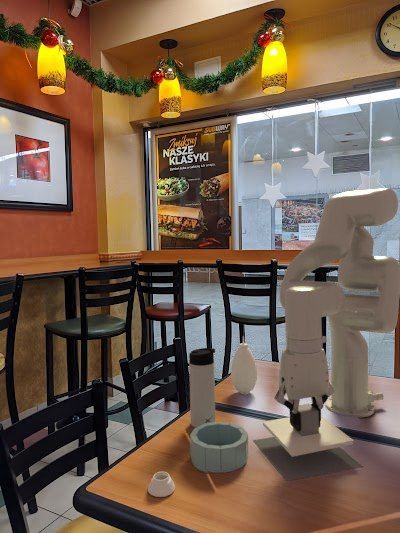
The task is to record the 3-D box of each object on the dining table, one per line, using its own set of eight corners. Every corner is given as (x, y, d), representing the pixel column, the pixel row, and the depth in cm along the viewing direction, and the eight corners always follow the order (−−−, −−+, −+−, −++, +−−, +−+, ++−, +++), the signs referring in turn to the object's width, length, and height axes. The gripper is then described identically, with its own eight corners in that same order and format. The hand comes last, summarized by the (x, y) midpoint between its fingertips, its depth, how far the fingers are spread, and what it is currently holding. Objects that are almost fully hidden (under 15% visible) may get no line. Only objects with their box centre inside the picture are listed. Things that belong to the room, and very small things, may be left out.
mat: (317, 432, 100) (317, 429, 100) (363, 469, 83) (363, 466, 83) (252, 442, 95) (252, 440, 95) (286, 484, 79) (286, 481, 79)
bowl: (236, 442, 96) (235, 419, 96) (256, 469, 84) (256, 443, 84) (186, 450, 93) (185, 426, 92) (200, 479, 81) (199, 452, 81)
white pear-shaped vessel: (261, 391, 127) (260, 334, 126) (250, 400, 121) (249, 339, 120) (238, 387, 132) (237, 331, 131) (227, 395, 125) (225, 336, 124)
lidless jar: (180, 491, 78) (165, 480, 82) (179, 476, 78) (164, 465, 81) (157, 502, 75) (143, 490, 79) (157, 486, 74) (142, 475, 78)
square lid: (317, 415, 98) (316, 391, 98) (353, 444, 85) (353, 417, 84) (263, 425, 95) (262, 400, 94) (292, 456, 81) (291, 428, 81)
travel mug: (214, 433, 101) (212, 352, 99) (188, 431, 102) (186, 351, 101) (218, 422, 107) (217, 346, 105) (193, 420, 108) (191, 345, 107)
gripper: (328, 335, 94) (329, 413, 95) (260, 344, 90) (263, 425, 91) (348, 344, 87) (349, 427, 88) (275, 354, 82) (278, 441, 84)
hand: (305, 425), depth 90 cm, fingers closed on square lid, 4 cm apart
